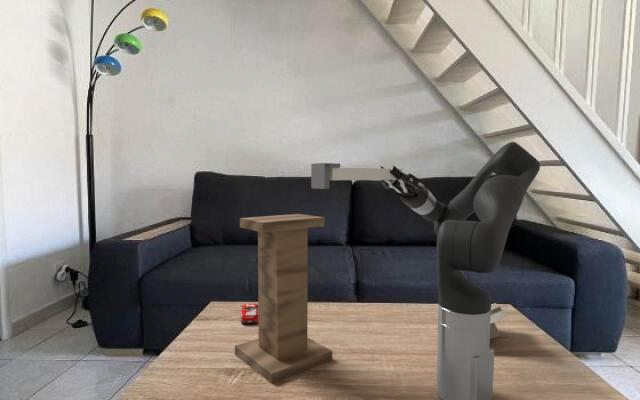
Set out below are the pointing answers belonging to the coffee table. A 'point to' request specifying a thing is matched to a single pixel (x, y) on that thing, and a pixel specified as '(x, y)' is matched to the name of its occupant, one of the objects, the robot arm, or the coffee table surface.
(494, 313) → the grey slanted stand
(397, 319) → the coffee table surface
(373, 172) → the white bar
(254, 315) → the race car
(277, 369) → the wooden pedestal post
